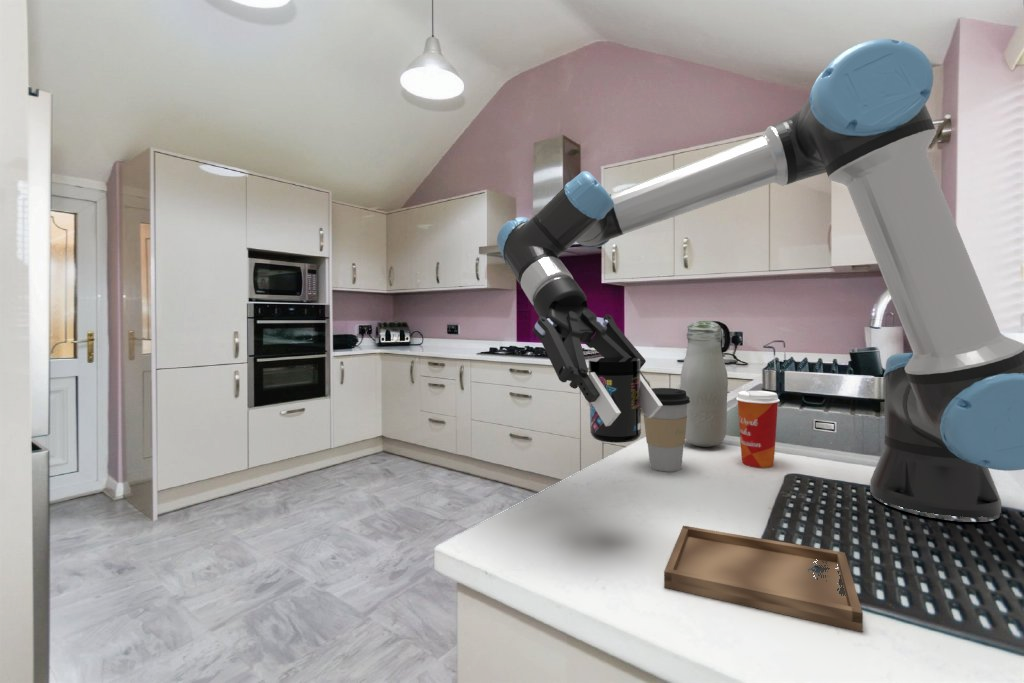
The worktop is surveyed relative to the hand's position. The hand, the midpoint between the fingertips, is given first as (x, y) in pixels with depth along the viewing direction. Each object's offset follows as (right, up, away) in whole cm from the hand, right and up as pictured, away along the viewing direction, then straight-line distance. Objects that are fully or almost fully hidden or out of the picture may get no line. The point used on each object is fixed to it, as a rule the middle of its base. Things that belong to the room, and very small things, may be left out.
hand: (634, 415), depth 63 cm
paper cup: (+33, -15, +34) cm, 50 cm away
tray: (+12, -17, -7) cm, 22 cm away
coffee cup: (+14, -15, +34) cm, 40 cm away
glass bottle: (+28, -14, +48) cm, 57 cm away
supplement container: (-2, -4, +3) cm, 5 cm away
